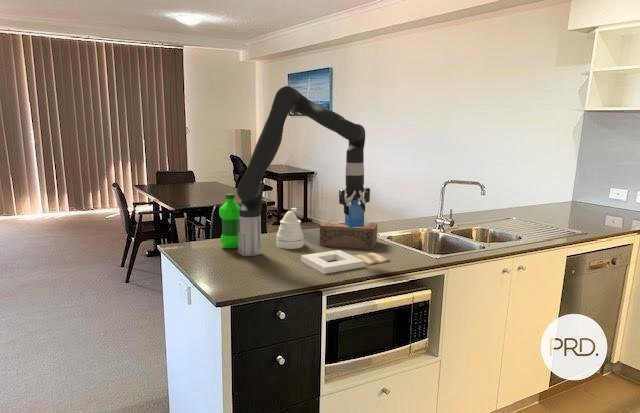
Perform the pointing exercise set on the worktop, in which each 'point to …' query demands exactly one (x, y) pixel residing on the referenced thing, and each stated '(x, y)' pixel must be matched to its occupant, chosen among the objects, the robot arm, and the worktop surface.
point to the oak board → (372, 258)
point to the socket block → (341, 264)
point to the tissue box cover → (348, 235)
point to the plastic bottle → (230, 222)
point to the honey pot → (290, 232)
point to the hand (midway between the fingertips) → (354, 213)
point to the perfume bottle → (355, 214)
